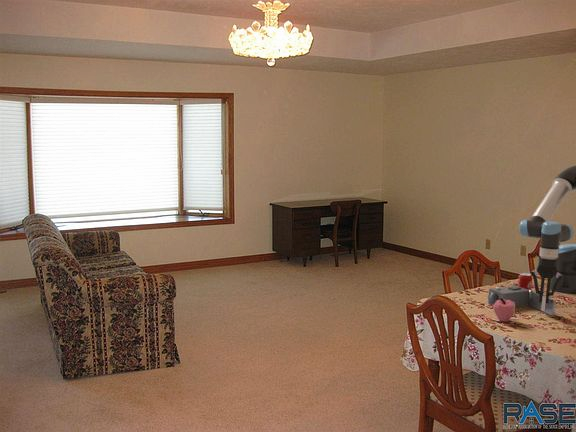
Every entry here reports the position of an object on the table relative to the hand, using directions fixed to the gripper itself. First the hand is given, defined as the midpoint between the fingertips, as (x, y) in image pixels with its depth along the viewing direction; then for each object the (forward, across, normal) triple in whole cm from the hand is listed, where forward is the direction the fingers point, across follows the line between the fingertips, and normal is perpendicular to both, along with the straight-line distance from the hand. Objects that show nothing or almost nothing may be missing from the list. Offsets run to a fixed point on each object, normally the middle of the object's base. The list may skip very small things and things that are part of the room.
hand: (543, 309), depth 271 cm
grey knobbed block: (+2, -16, +8) cm, 18 cm away
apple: (+3, -14, -18) cm, 23 cm away
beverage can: (+2, -10, +23) cm, 25 cm away
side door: (+2, -1, +6) cm, 6 cm away
